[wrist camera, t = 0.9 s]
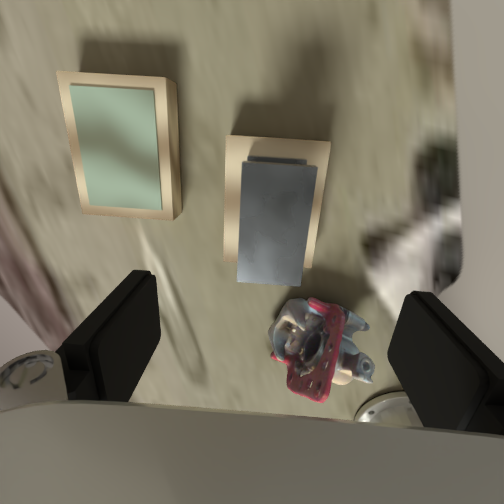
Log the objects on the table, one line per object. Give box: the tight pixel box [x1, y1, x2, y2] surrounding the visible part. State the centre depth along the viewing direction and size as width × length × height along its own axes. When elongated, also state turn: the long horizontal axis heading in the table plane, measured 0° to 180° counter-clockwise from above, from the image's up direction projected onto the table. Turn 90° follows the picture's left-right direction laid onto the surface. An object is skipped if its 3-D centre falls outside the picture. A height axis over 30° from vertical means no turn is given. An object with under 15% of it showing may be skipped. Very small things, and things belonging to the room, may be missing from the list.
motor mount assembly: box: [268, 297, 375, 403], centre depth 31 cm, size 11×11×12 cm
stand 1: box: [56, 71, 182, 221], centre depth 26 cm, size 12×9×3 cm
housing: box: [237, 155, 318, 287], centre depth 23 cm, size 9×5×7 cm, turn 177°
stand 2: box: [223, 135, 331, 268], centre depth 28 cm, size 12×9×3 cm
